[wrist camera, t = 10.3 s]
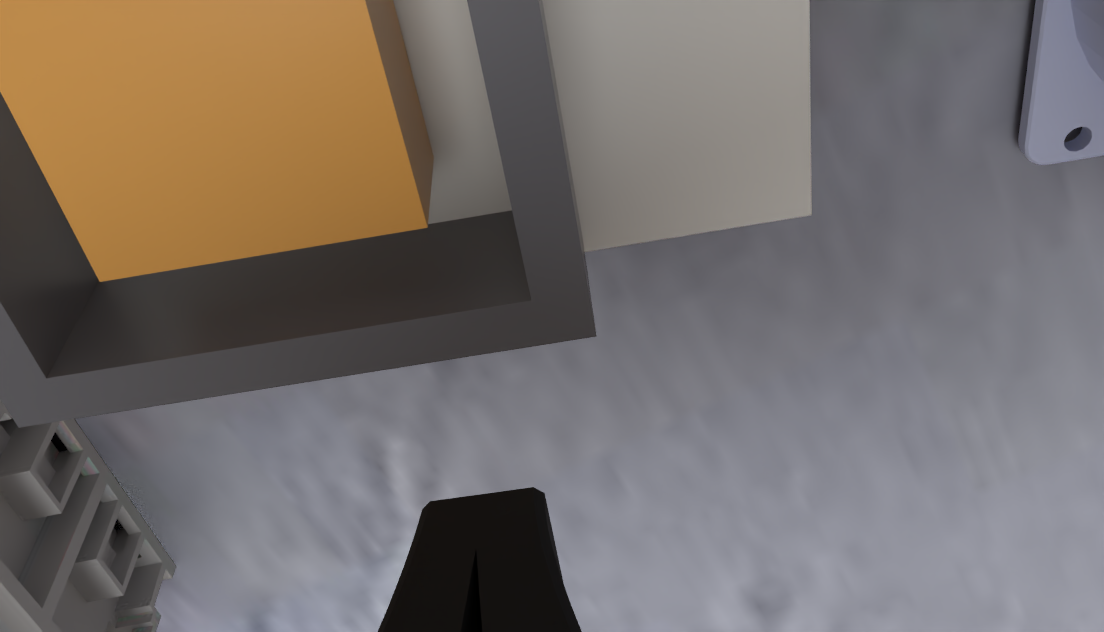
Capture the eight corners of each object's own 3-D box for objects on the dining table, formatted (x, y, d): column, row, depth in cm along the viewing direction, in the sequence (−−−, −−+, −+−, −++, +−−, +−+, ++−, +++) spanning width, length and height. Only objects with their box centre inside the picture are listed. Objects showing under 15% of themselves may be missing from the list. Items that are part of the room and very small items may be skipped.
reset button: (350, -169, 13) (329, -129, 11) (434, 157, 15) (427, 227, 14) (-7, -103, 13) (-76, -54, 11) (138, 207, 16) (99, 282, 14)
